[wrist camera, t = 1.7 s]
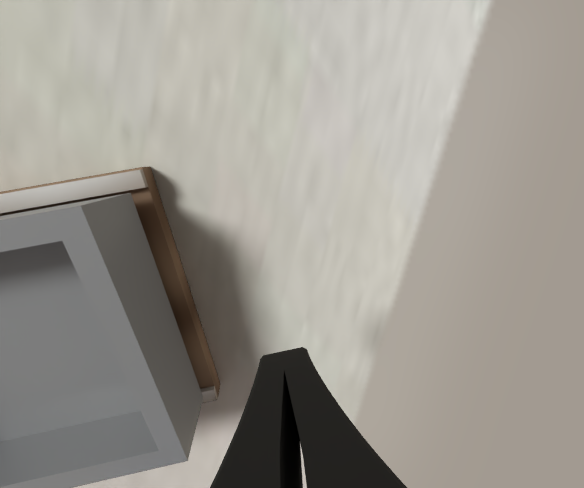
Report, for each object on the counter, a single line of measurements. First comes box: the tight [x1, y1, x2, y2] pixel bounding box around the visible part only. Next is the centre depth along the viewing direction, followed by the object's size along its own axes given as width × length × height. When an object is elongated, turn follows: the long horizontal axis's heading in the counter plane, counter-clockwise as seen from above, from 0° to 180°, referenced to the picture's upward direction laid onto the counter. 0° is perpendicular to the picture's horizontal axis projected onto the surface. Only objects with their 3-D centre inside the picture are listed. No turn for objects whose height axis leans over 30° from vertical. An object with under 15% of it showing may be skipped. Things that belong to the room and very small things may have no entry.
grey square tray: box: [0, 193, 203, 488], centre depth 12 cm, size 12×13×4 cm
